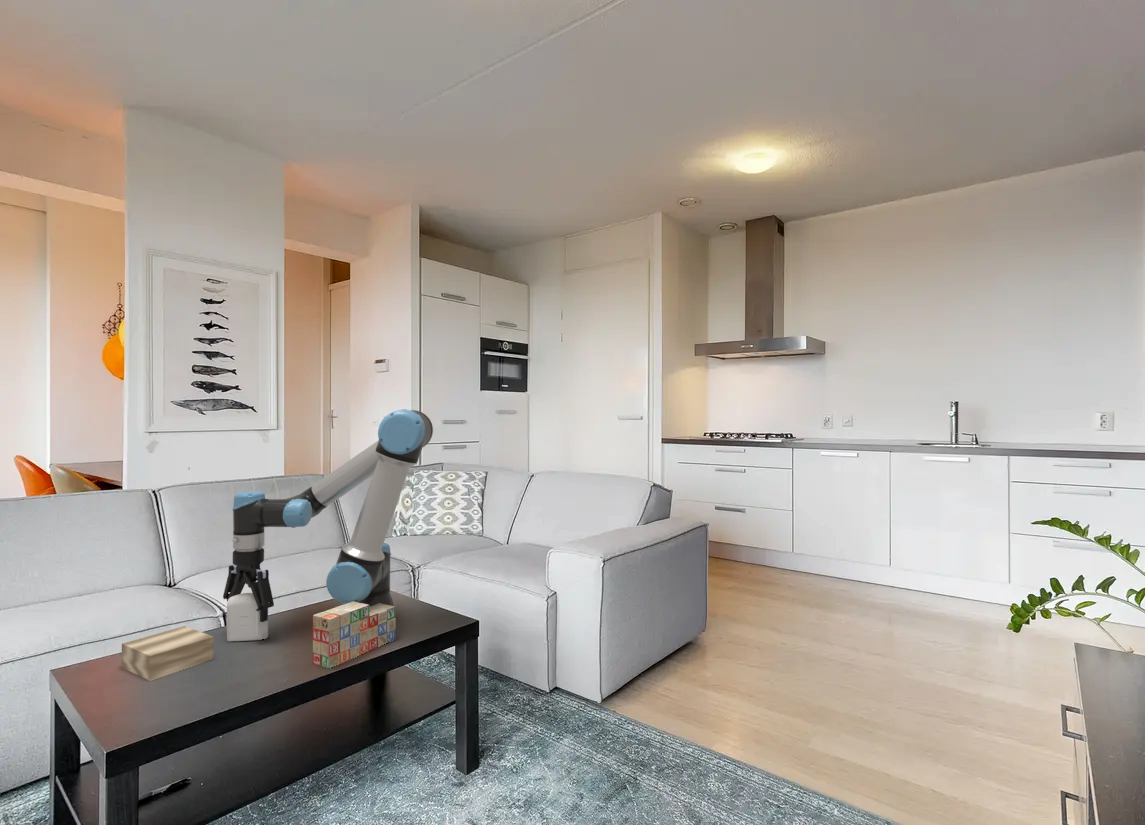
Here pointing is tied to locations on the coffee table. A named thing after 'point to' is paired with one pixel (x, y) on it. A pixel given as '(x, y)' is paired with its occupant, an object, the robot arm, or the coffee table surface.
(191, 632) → the birch box
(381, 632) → the stack of blocks
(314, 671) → the coffee table surface
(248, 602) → the photo printer
